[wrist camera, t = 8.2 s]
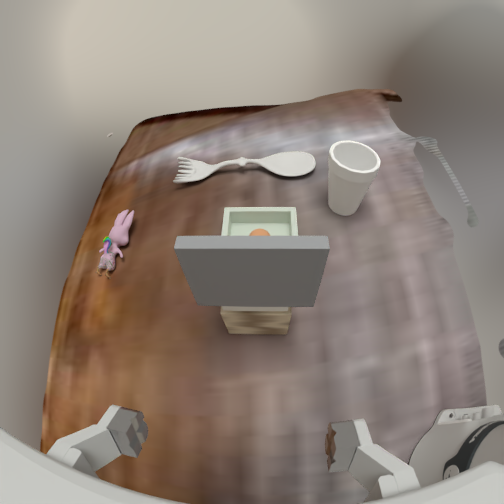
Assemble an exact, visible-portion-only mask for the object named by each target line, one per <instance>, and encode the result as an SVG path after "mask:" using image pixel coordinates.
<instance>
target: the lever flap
mask: <svg viewBox="0 0 504 504" xmlns="http://www.w3.org/2000/svg"><path fill="white" fill-rule="evenodd" d="M174 250H175V252H176V255H177V257H178V260H179V262H180V265H181V267H182V269H183V272H184V274H185V277H186V279H187V281H188V284H189V286H190V288H191V291H192V293H193V295H194V298H195V300H196V302H197V304H198V305H204V306H222V308H223V310H224V311H288V308H289V307H313V306H314V303H315V300H316V296H317V293H318V289H319V286H320V282H321V279H322V275H323V272H324V268H325V265H326V261H327V257H328V253H329V250H330V248H329V242H328V236H177V239H176V243H175V247H174Z"/></svg>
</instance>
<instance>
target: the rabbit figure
mask: <svg viewBox="0 0 504 504" xmlns="http://www.w3.org/2000/svg"><path fill="white" fill-rule="evenodd" d="M128 211H129V210H125V211H123V212H121V213H120V214H119V215H118V216H117V218H116V220H115V226H114V227H113V228H112V229H111V232H110V234H109V237H107V236H106V237H104V239H103V242H104V248H103V249H101V250H100V251H99V252H100V253H101V252H103V251H104V254H103V255H102V256H101V258H100V263H99V266H98V267H97V274H99V275H101V274H100V273H99V269H100V268H102V269H106V268H107V270H106V271H107V272H106V274H105V275H106V276H107V277H109V278H110V276H109V275H108V271H113V270H114V269H115V256H116V254H117V253H119V254H120V257H121V258H123V254H122V252H121V251H120V249H119V248H118V247H120V246H125V245H126V244H127V243H128V241H129V237H128V230H129V228H130V226H131V223H132V218H133V215H134V210H133V211H132V212H131V213H130V214H128V216H127V217H126V215H127V213H128ZM125 217H126V219H125ZM111 243H112V245H111ZM101 276H102V275H101Z"/></svg>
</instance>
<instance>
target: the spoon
mask: <svg viewBox="0 0 504 504" xmlns="http://www.w3.org/2000/svg"><path fill="white" fill-rule="evenodd" d="M177 159H178V160H180V161H184V162H178V163H179V164H181V165H180V166H178V167H180V168H183V169H188V170H178V172H180V173H183V174H178V175H176V176H178V177H176V178H175V179H177V180H173V182H174V183H185V182H192V181H198V180H202V179H204V178H206V177H208V176H209V175H211V174H212V173H214V172H215V171H217V170H218V169H220V168H223V167H225V166H230V165H239V166H241V167H243V166H245V165H246V164H257V165H260V166H262V167H264V168H266V169H267V170H269V171H271V172H273V173H275V174H278V175H282V176H300V175H304V174H307V173H309V172H311V171H312V170H313V169H314V168H315V165H316V162H315V159H314V157H313V156H312V155H311V154H309V153H306V152H301V151H290V152H282V153H277V154H273V155H271V156H268V157H265V158H262V159H245V158H244V157H241V158H239V159H236V160H229V161H224V162H221V163H219V164H216V165H209V164H206V163H204V162H202V161H197V160H192V159H188V158H184V157H178V158H177ZM184 165H186V166H184Z"/></svg>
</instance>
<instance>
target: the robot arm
mask: <svg viewBox="0 0 504 504" xmlns="http://www.w3.org/2000/svg"><path fill="white" fill-rule="evenodd" d="M449 415H451V417H449ZM143 418H144V415H143V413H142V412H140V411H137V410H132V409H128V408H124V407H120V406H116V405H111V406H110V407H109V408H108V410H107V411H106V413H105V414H104V415H103V417H102V418H101V420H100V421H99V423H98V424H97V425H92V426H90V427H87V428H85V429H83V430H80V431H78V432H76V433H73V434H71V435H68V436H66V437H63V438H61V439H58V440H57V441H56V442H55V444H54V445H53V446H52V448H51V449H50V450H49V451H48V453H47V454H46V455H45V454H44V453H42V452H40V451H38V450H36V449H35V448H33V447H31V446H29V445H28V444H26V443H24V442H23V441H21V440H20V439H18V438H16V437H15V436H13V435H12V434H10V433H9V432H7V431H6V430H4V429H3V428H1V427H0V504H188V503H182V502H177V501H172V500H168V499H163V498H159V497H155V496H151V495H147V494H143V493H140V492H136V491H133V490H130V489H126V488H123V487H120V486H117V485H114V484H111V483H109V482H106V481H103V480H100V478H99V477H98V476H97V474H96V473H95V471H97V470H98V469H100V468H102V467H103V466H105V465H106V464H108V463H109V462H111V461H112V460H114V459H115V458H117V457H118V456H120V455H121V454H124V455H128V456H132V457H136V458H137V457H138V455H139V453H140V451H141V449H142V446H141V444H142V443H143V442H145V441H146V439H147V436H148V427H147V424H146V423H145V422H144V421H143ZM325 451H326V454H327V455H328V459H327V464H328V471H329V472H339V471H348V472H349V473H350V474H351V475H352V476H353V477H354V478H355V479H356V480H357V481H358V482H359V483H360V484H361V485H363V486H364V487H365V488H366V489H367V490H368V491H369V492H370V494H369V495H368V497H367V498H366V500H365V501H364V503H358V504H504V414H502V411H501V409H500V407H499V406H498V405H489V406H480V407H471V408H459V409H444V410H442V411H441V412H440V413H439V414H438V416H437V418H436V420H435V423H434V425H433V426H432V428H431V429H430V430H429V431H428V432H427V433H426V434H425V435H424V436H423V438H422V439H421V440H420V441H419V443H418V444H417V446H416V448H415V450H414V452H413V454H412V456H411V459H410V462H409V465H408V464H406V463H404V462H403V461H401V460H400V459H398V458H397V457H395V456H394V455H392V454H391V453H389V452H388V451H386V450H385V449H383V448H382V447H380V446H379V445H377V444H373V442H372V439H371V436H370V433H369V430H368V427H367V425H366V422H365V420H364V419H356V420H347V421H339V422H330V423H329V425H328V434H326V438H325Z"/></svg>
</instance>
